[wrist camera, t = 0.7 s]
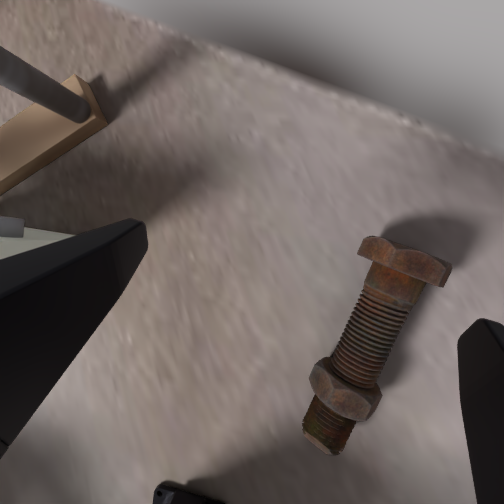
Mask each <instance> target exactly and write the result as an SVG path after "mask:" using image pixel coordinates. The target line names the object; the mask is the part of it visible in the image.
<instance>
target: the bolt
mask: <svg viewBox="0 0 504 504" xmlns="http://www.w3.org/2000/svg"><path fill="white" fill-rule="evenodd" d="M357 254H358V255H360V256H363V257H365V258H367V259H370V260H372V261H373V263H372V265H371V267H370V270H369V272H368V274H367V276H366V279H365V281H364V287H363V288H364V289H363V290H362V293H363V294H360V295H359V296H360V297H361V299H359V298H358V302H359V303H356V306H357V307H354V311H353V312H352V313H351V314H352V315H351V316H350V320H348V324H346V328H345V329H344V332H343V333H342V336H341V338H340V341H339V342H338V343H339V345H337V349H335V353H333V357H324V358H322V359H321V360H319V361H318V362H317V363H316V364H315V365H314V367H313V369H312V372H311V374H310V376H309V380H310V383H311V386H312V388H313V391H314V393H315V395H314V397H313V400H312V402H311V404H310V406H309V408H308V411H307V413H306V415H305V417H304V419H303V422H304V423H302V426H303V429H302V430H303V433H304V436H305V437H306V438H307V439H308V440H309V441H310V442H312V443H313V444H314V445H315V446H317V447H318V448H319V449H321V450H322V451H323V452H324V453H326V454H327V455H338V454H340V453H339V451H340V452H342V451H343V449H344V447H345V445H346V441H347V440H348V438H349V436H350V433H351V432H352V429H353V428H354V425H355V424H356V421H366V420H367V419H369V417H370V416H371V415H372V414H373V412H374V411H375V410H376V408H377V406H378V404H379V402H380V400H381V398H382V393H381V391H380V388H379V386H378V385H377V384H376V380H377V378H378V377H379V374H380V373H381V370H382V369H383V365H385V361H386V360H387V357H388V356H389V352H391V348H392V347H393V343H394V342H395V339H396V338H397V334H399V332H400V331H399V330H401V328H402V326H401V325H403V324H404V321H405V320H406V319H407V318H406V316H408V315H409V313H408V312H407V311H411V309H412V307H413V305H415V304H416V302H417V300H418V298H419V296H420V294H421V292H422V290H423V288H424V286H425V284H426V282H427V283H430V284H432V285H435V286H438V287H444V285H445V283H446V281H447V279H448V277H449V275H450V273H451V270H452V264H450V263H448V262H446V261H443V260H441V259H439V258H436V257H434V256H431V255H429V254H426V253H424V252H421V251H418V250H416V249H413V248H410V247H407V246H404V245H401V244H398V243H395V242H392V241H389V240H386V239H384V238H380V237H376V236H369V237H366V238H364V239H363V241H362V244H361V246H360V248H359V250H358V253H357Z"/></svg>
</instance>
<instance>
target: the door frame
mask: <svg viewBox="0 0 504 504" xmlns="http://www.w3.org/2000/svg"><path fill="white" fill-rule="evenodd" d="M0 85H2V86H4V87H6V88H8V89H10V90H11V91H13V92H15V93H17V94H19V95H21V96H23V97H25V98H27V99H29V100H31V101H33V102H34V103H33V104H32V105H30V106H29V107H27V108H26V109H25V110H23V111H22V112H20V113H19V114H17V115H16V116H15V117H13V118H12V119H10V120H9V121H8V122H6V123H5V124H3V125H2V126H1V127H0V195H1V194H3V193H4V192H6V191H8V190H9V189H11V188H12V187H14V186H15V185H17V184H18V183H20V182H21V181H23V180H24V179H26V178H27V177H29V176H30V175H32V174H33V173H35V172H37V171H38V170H40V169H41V168H43V167H44V166H46V165H47V164H49V163H50V162H52V161H53V160H55V159H56V158H58V157H59V156H61V155H62V154H64V153H65V152H67V151H69V150H70V149H72V148H73V147H75V146H76V145H78V144H79V143H81V142H82V141H84V140H85V139H87V138H88V137H90V136H91V135H93V134H94V133H96V132H98V131H99V130H101V129H102V128H104V127H105V126H107V125H108V124H107V121H106V119H105V117H104V115H103V113H102V111H101V109H100V107H99V105H98V103H97V101H96V99H95V97H94V95H93V93H92V91H91V89H90V87H89V85H88V83H87V82H85V81H84V80H82V79H81V78H80V77H78V76H77V75H75V74H74V75H72V76H71V77H69V78H68V79H67V80H65V81H64V82H62V83H61V84H60V83H58V82H57V81H55V80H53V79H52V78H50V77H49V76H47V75H45V74H44V73H42V72H41V71H39V70H38V69H36V68H34V67H33V66H31V65H30V64H28V63H26V62H25V61H23V60H22V59H20V58H19V57H17V56H15V55H14V54H12V53H11V52H9V51H8V50H6V49H4V48H3V47H1V46H0Z"/></svg>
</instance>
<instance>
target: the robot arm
mask: <svg viewBox="0 0 504 504" xmlns="http://www.w3.org/2000/svg"><path fill="white" fill-rule="evenodd" d="M147 249H148V239H147V231H146V225H145V223H144V222H142V221H139V220H136V219H132V218H129V219H126V220H123V221H120V222H116V223H113V224H110V225H107V226H104V227H101V228H98V229H94V230H91V231H88V232H85V233H82V234H79V235H76V236H72V237H69V238H66V239H63V240H60V241H57V242H53V243H50V244H47V245H44V246H41V247H38V248H35V249H31V250H28V251H25V252H22V253H19V254H16V255H13V256H9V257H6V258H3V259H0V459H1V458H2V456H3V455H4V453H5V452H6V451H7V449H8V448H9V446H10V445H11V444H12V442H13V441H14V440H15V438H16V437H17V435H18V434H19V433H20V431H21V430H22V429H23V427H24V426H25V425H26V423H27V422H28V421H29V419H30V418H31V417H32V415H33V414H34V413H35V411H36V410H37V408H38V407H39V406H40V404H41V403H42V402H43V400H44V399H45V398H46V396H47V395H48V394H49V392H50V391H51V390H52V388H53V387H54V385H55V384H56V383H57V381H58V380H59V379H60V377H61V376H62V375H63V373H64V372H65V371H66V369H67V368H68V367H69V365H70V364H71V363H72V361H73V360H74V358H75V357H76V356H77V354H78V353H79V352H80V350H81V349H82V348H83V346H84V345H85V344H86V342H87V341H88V340H89V338H90V337H91V335H92V334H93V333H94V331H95V330H96V329H97V327H98V326H99V325H100V323H101V322H102V321H103V319H104V318H105V317H106V315H107V314H108V312H109V311H110V310H111V308H112V307H113V306H114V304H115V303H116V302H117V300H118V299H119V297H120V296H121V295H122V293H123V291H124V290H125V288H126V287H127V285H128V283H129V281H130V280H131V278H132V276H133V274H134V273H135V271H136V269H137V268H138V266H139V264H140V262H141V261H142V259H143V257H144V255H145V254H146V252H147ZM457 350H458V370H459V390H460V402H461V410H462V416H463V422H464V428H465V434H466V440H467V446H468V452H469V458H470V464H471V470H472V475H473V481H474V487H475V493H476V499H477V504H504V326H503V325H502V324H500V323H498V322H495V321H492V320H488V319H484V318H480V319H478V320H476V321H475V322H474V323H473V324H472V325H471V326H470V327H469V328H468V329H467V330H466V331H465V332H464V333H463V334H462V335H461V336H460V338H459V340H458V344H457ZM160 491H161V492H162V493H161V492H160ZM153 504H225V503H223V502H220V501H216V500H213V499H210V498H206V497H203V496H200V495H196V494H193V493H190V492H186V491H183V490H179V489H176V488H173V487H169V486H166V485H163V484H159V485H158V486H157V487H156V489H155V491H154V497H153Z"/></svg>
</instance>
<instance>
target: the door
mask: <svg viewBox="0 0 504 504" xmlns="http://www.w3.org/2000/svg"><path fill="white" fill-rule="evenodd" d="M24 224H25V219H22V218H15V217H6V216H0V259H3V258H6V257H9V256H13V255H16V254H19V253H22V252H25V251H28V250H31V249H35V248H38V247H41V246H44V245H47V244H50V243H53V242H57V241H60V240H63V239H66V238H69V237H72V236H76V235H71V234H65V233H58V232H52V231H46V230H40V229H33V228H27V227H24Z"/></svg>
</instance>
